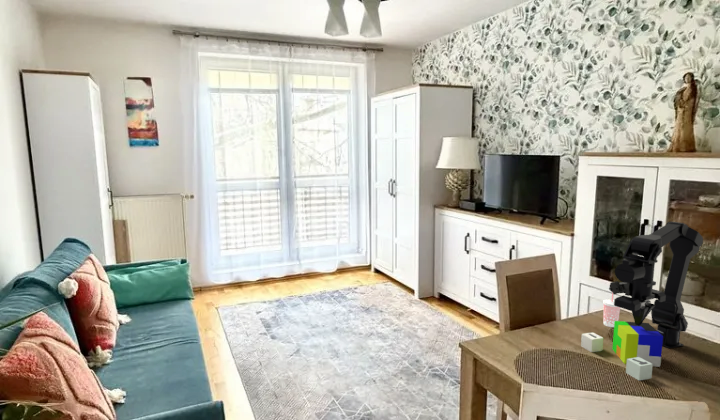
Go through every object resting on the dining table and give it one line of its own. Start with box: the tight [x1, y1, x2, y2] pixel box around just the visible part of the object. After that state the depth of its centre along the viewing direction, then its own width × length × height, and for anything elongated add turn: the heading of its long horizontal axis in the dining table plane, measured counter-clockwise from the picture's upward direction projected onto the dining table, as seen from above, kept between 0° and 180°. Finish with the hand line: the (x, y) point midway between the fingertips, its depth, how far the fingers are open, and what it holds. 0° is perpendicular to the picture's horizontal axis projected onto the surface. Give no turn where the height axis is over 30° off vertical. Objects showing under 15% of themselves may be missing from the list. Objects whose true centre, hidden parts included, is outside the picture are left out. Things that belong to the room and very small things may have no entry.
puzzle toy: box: [611, 320, 663, 368], centre depth 136 cm, size 10×10×10 cm
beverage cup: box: [602, 292, 621, 328], centre depth 161 cm, size 6×6×14 cm
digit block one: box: [580, 332, 604, 353], centre depth 143 cm, size 4×4×5 cm
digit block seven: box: [625, 357, 654, 381], centre depth 126 cm, size 4×4×5 cm
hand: (637, 325), depth 135 cm, fingers closed
